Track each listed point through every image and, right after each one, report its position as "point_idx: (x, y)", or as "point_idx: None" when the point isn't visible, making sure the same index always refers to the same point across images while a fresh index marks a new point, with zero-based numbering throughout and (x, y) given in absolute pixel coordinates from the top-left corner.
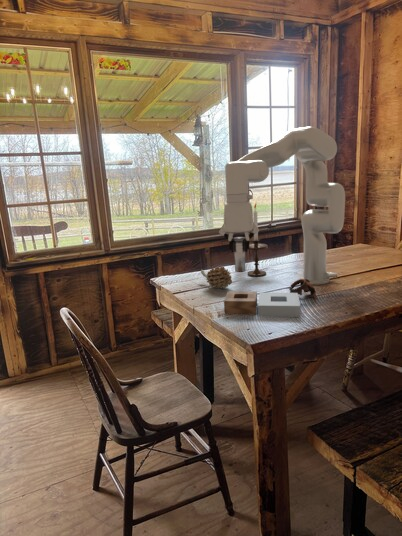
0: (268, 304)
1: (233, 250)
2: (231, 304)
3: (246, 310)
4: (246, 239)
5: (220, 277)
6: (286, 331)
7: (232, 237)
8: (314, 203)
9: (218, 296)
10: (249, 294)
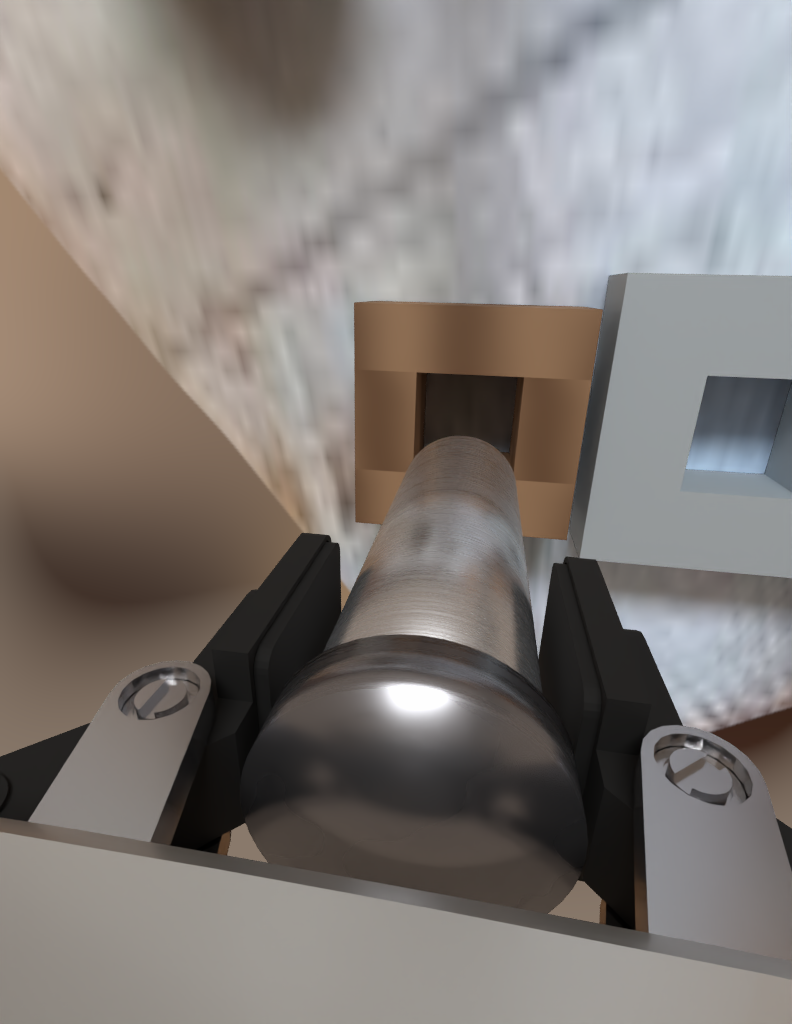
0: (652, 547)
1: None
2: None
3: None
4: (611, 905)
5: None
6: (684, 706)
7: (201, 732)
8: None
9: (275, 107)
10: (533, 390)
